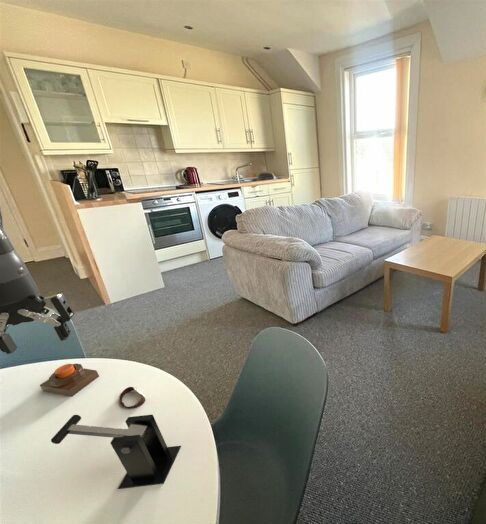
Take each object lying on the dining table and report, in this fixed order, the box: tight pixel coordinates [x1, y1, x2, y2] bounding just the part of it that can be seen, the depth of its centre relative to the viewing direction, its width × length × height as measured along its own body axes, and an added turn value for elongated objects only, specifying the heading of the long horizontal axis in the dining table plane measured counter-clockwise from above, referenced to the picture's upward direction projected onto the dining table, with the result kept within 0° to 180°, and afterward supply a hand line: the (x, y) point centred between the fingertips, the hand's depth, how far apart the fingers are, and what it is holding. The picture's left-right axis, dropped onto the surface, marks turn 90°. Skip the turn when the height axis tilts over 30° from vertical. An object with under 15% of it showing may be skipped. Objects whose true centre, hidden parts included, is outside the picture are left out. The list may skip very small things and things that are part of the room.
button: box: [53, 363, 75, 379], centre depth 75 cm, size 4×4×2 cm
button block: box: [39, 363, 100, 397], centre depth 76 cm, size 10×7×4 cm
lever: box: [50, 414, 147, 445], centre depth 51 cm, size 13×4×2 cm, turn 96°
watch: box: [118, 386, 146, 410], centre depth 70 cm, size 8×5×4 cm, turn 58°
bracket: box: [110, 414, 182, 490], centre depth 53 cm, size 8×7×12 cm
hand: (39, 344), depth 61 cm, fingers open, 8 cm apart
